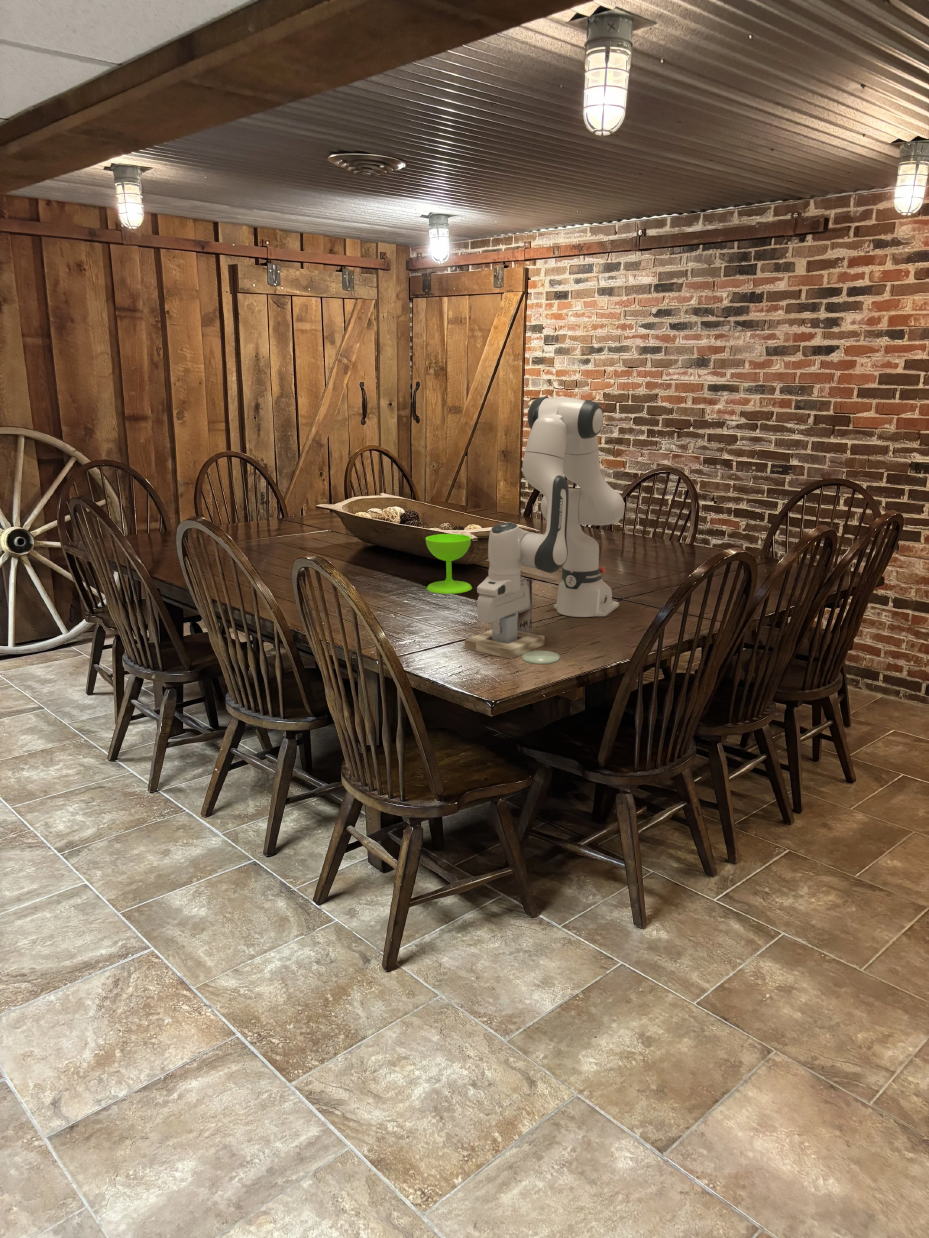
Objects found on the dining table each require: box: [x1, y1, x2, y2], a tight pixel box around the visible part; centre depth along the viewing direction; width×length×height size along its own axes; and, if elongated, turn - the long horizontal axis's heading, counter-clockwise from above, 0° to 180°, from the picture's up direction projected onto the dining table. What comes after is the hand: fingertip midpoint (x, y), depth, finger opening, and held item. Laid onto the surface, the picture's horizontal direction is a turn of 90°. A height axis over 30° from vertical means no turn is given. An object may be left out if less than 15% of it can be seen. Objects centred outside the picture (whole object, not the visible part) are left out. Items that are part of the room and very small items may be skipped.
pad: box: [521, 650, 560, 665], centre depth 245 cm, size 10×10×1 cm
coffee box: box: [517, 578, 533, 634], centre depth 267 cm, size 9×6×16 cm
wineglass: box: [425, 533, 473, 595], centre depth 321 cm, size 16×16×18 cm
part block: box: [491, 614, 517, 644], centre depth 255 cm, size 5×5×8 cm
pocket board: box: [464, 629, 545, 660], centre depth 256 cm, size 16×16×2 cm
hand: (504, 630), depth 255 cm, fingers closed on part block, 5 cm apart
